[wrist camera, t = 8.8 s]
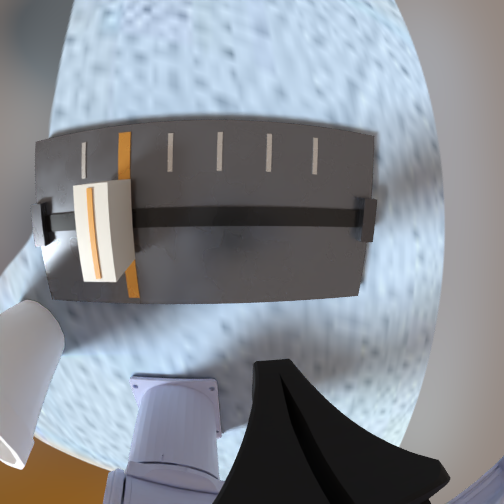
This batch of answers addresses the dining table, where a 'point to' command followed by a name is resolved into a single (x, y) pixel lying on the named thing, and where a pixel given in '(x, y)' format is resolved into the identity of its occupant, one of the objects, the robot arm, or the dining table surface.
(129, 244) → the block
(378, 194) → the dining table surface
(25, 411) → the foam cup
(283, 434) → the robot arm
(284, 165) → the console
